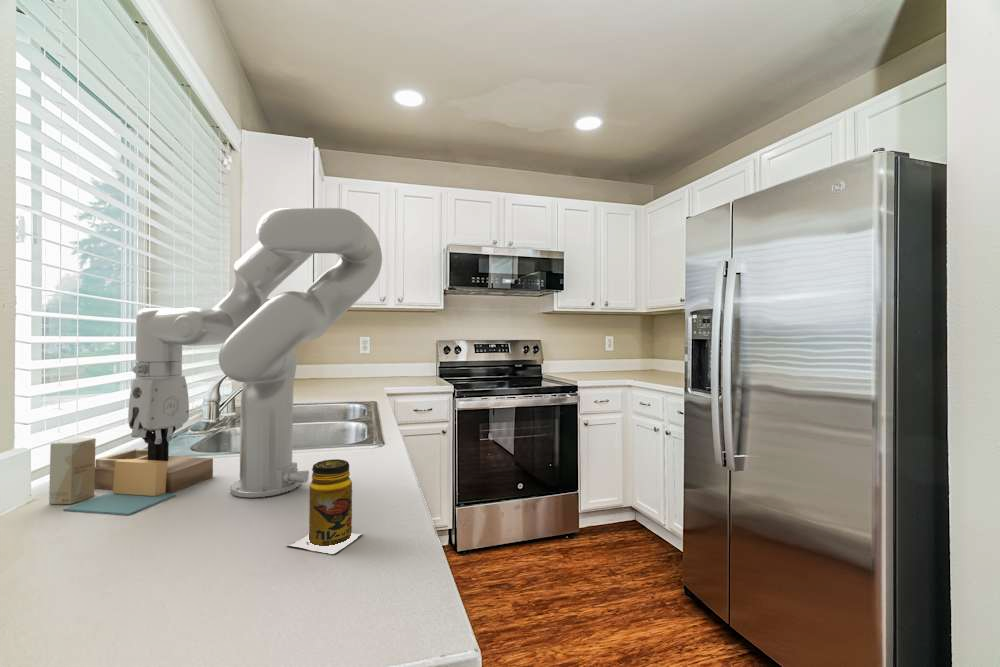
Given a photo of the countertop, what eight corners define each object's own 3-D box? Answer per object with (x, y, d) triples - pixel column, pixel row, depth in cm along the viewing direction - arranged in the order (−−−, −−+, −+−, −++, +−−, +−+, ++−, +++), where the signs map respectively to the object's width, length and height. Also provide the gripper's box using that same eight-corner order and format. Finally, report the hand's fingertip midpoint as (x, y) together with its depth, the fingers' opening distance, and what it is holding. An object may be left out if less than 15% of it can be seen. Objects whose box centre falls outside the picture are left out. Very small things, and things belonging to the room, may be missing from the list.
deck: (212, 476, 104) (213, 451, 104) (171, 493, 93) (171, 465, 93) (139, 472, 106) (139, 447, 106) (90, 488, 95) (90, 460, 95)
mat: (176, 495, 92) (176, 494, 92) (128, 515, 82) (128, 513, 82) (116, 491, 93) (116, 490, 93) (63, 510, 83) (63, 508, 83)
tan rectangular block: (167, 461, 93) (156, 463, 90) (165, 492, 92) (154, 495, 90) (127, 458, 94) (115, 461, 92) (124, 490, 94) (112, 493, 91)
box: (71, 504, 86) (71, 443, 86) (47, 504, 86) (48, 443, 86) (96, 495, 92) (96, 437, 92) (74, 494, 92) (74, 436, 92)
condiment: (334, 556, 68) (335, 471, 68) (285, 547, 70) (286, 465, 70) (364, 535, 75) (365, 458, 75) (318, 528, 77) (319, 454, 77)
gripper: (142, 373, 87) (140, 474, 87) (204, 368, 102) (203, 454, 102) (106, 372, 88) (105, 472, 88) (173, 367, 103) (172, 452, 103)
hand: (158, 462), depth 95 cm, fingers closed
